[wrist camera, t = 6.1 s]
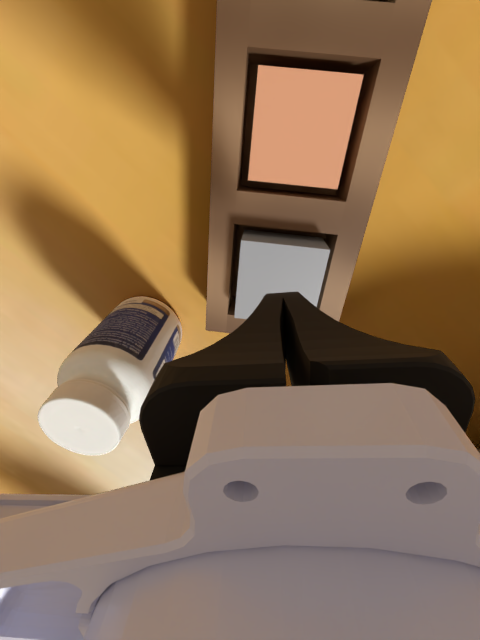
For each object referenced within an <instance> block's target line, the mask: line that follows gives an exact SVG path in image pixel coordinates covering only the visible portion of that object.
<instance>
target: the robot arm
mask: <svg viewBox="0 0 480 640" xmlns="http://www.w3.org/2000/svg"><path fill="white" fill-rule="evenodd" d="M286 361H287V366H288V371H289V375H290V380H291V384H292V386H286V376H285V363H286ZM474 403H475V396H474V392H473V388H472V386H471V384H470V383H469V382H468V380H467V379H466V378H465V376H464V375H463V374H462V373H461V372H460V371H459V370H458V368H457V367H456V366H455V365H454V364H453V363H452V362H451V361H450V360H449V359H448V357H447V356H446V355H445V354H444V353H443V352H441V351H439V350H433V349H427V348H421V347H415V346H409V345H404V344H400V343H396V342H392V341H388V340H384V339H381V338H377V337H374V336H371V335H368V334H366V333H363V332H360V331H357V330H355V329H353V328H350V327H348V326H346V325H344V324H342V323H340V322H338V321H337V320H335V319H333V318H331V317H330V316H328V315H327V314H325V313H324V312H322V311H321V310H319V309H318V308H317V307H315V306H314V305H313V304H312V303H311V302H309V301H308V300H307V299H306V298H305V297H304V296H303V295H301V294H300V293H299V292H298V291H297V292H283V293H269V294H266V295H265V296H264V297H263V299H262V300H261V302H260V303H259V305H258V306H257V307H256V309H255V310H254V311H253V313H252V314H251V315H250V316H249V317H248V318H247V319H246V320H245V321H244V323H243V324H242V325H240V326H239V327H238V328H237V329H236V330H234V331H233V332H232V333H230V334H229V335H228V336H226V337H224V338H223V339H221V340H219V341H218V342H216V343H215V344H213V345H211V346H209V347H207V348H205V349H203V350H200V351H198V352H196V353H193V354H191V355H188V356H185V357H182V358H179V359H176V360H173V361H170V362H166V363H164V365H163V366H162V368H161V370H160V371H159V373H158V374H157V376H156V378H155V380H154V382H153V384H152V386H151V388H150V390H149V392H148V394H147V396H146V398H145V400H144V402H143V404H142V406H141V409H140V415H139V421H140V426H141V430H142V433H143V435H144V438H145V440H146V443H147V446H148V448H149V451H150V453H151V456H152V459H153V461H154V464H155V467H154V470H153V473H152V475H151V478H150V481H146V482H142V483H138V484H135V485H131V486H127V487H123V488H119V489H115V490H111V491H107V492H103V493H99V494H95V495H66V494H0V640H480V453H479V452H478V451H477V449H476V448H475V446H474V445H473V444H472V442H471V441H470V439H469V438H468V437H467V435H466V434H465V432H466V429H467V426H468V424H469V421H470V418H471V415H472V413H473V409H474Z"/></svg>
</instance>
